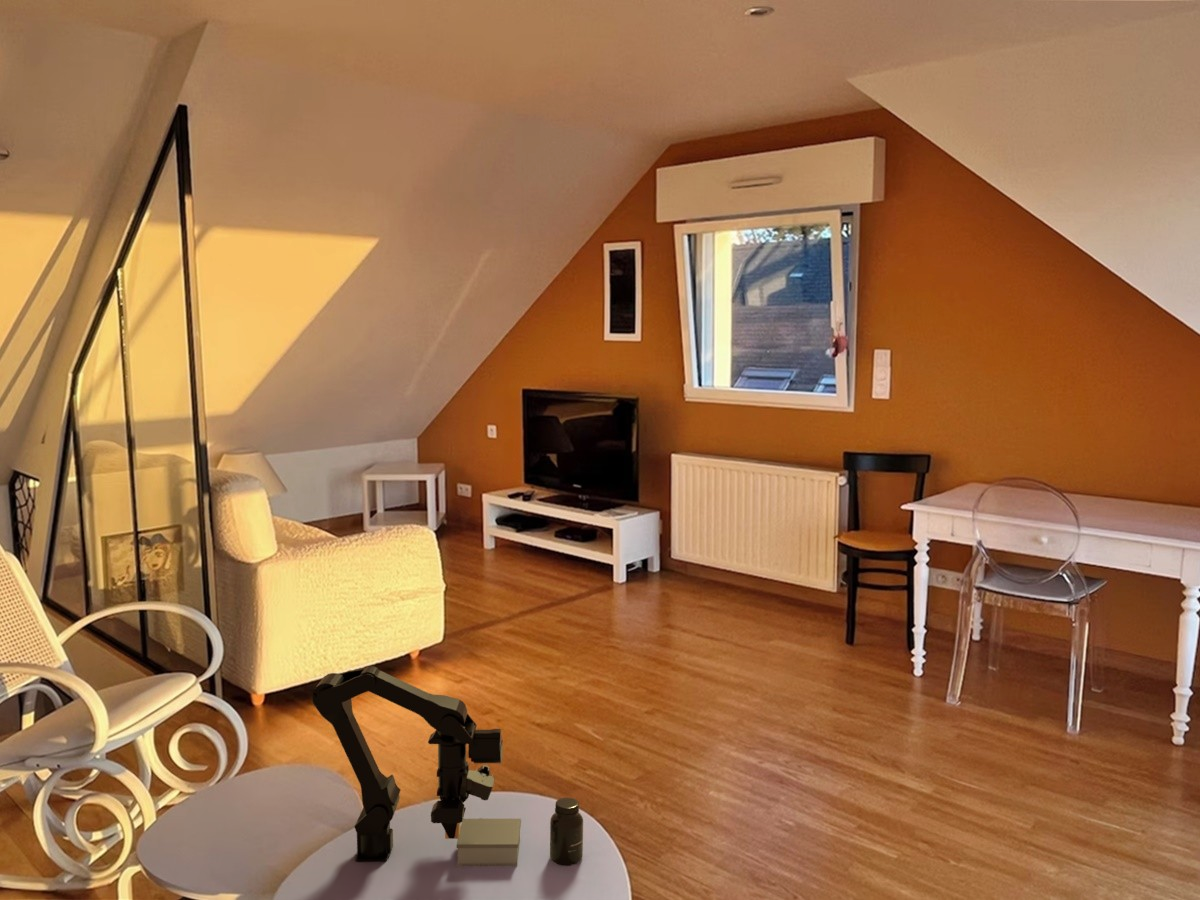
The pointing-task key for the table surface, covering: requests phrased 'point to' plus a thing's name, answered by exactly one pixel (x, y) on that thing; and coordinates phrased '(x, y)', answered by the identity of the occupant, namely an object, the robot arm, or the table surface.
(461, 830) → the lid
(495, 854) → the tub
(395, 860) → the table surface
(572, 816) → the supplement bottle
